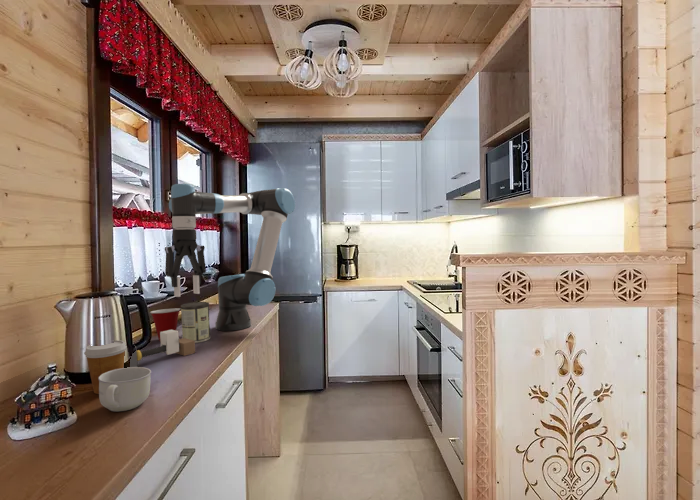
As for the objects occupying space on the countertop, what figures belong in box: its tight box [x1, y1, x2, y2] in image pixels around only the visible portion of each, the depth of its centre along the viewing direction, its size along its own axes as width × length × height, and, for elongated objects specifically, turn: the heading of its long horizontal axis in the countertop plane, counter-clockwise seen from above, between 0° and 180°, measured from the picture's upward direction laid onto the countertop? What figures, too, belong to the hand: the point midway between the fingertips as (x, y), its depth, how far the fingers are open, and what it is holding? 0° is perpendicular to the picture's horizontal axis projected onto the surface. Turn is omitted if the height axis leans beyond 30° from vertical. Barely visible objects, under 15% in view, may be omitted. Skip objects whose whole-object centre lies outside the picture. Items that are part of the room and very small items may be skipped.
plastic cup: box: [150, 307, 181, 342], centre depth 150 cm, size 11×11×12 cm
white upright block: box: [159, 329, 180, 356], centre depth 128 cm, size 4×4×7 cm
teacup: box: [98, 366, 152, 412], centre depth 89 cm, size 14×11×8 cm
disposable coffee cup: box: [83, 339, 127, 395], centre depth 101 cm, size 10×10×12 cm
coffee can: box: [180, 301, 211, 344], centre depth 148 cm, size 10×10×14 cm
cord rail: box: [130, 337, 196, 367], centre depth 125 cm, size 22×7×7 cm, turn 144°
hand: (187, 294), depth 133 cm, fingers open, 6 cm apart
